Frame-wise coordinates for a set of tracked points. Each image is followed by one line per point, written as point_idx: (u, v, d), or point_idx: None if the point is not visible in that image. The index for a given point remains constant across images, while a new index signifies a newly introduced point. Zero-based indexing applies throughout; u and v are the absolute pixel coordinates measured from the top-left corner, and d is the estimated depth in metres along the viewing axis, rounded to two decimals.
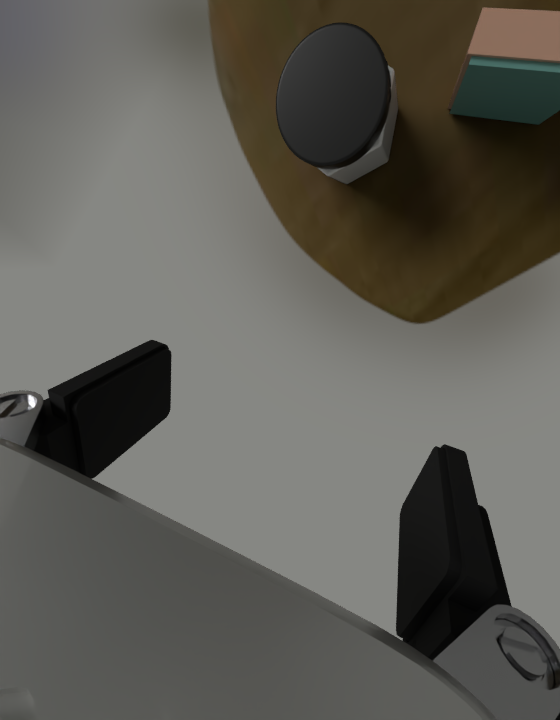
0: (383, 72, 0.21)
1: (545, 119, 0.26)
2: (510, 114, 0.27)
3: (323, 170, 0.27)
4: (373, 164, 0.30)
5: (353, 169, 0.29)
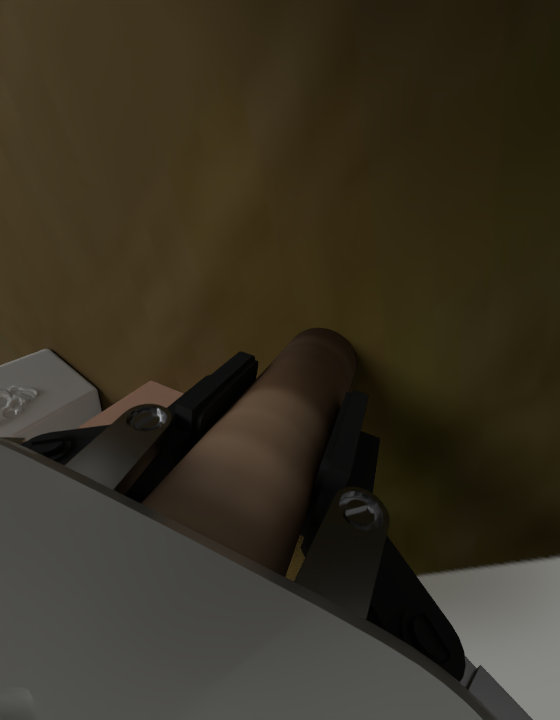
0: None
1: None
2: None
3: None
4: None
5: None
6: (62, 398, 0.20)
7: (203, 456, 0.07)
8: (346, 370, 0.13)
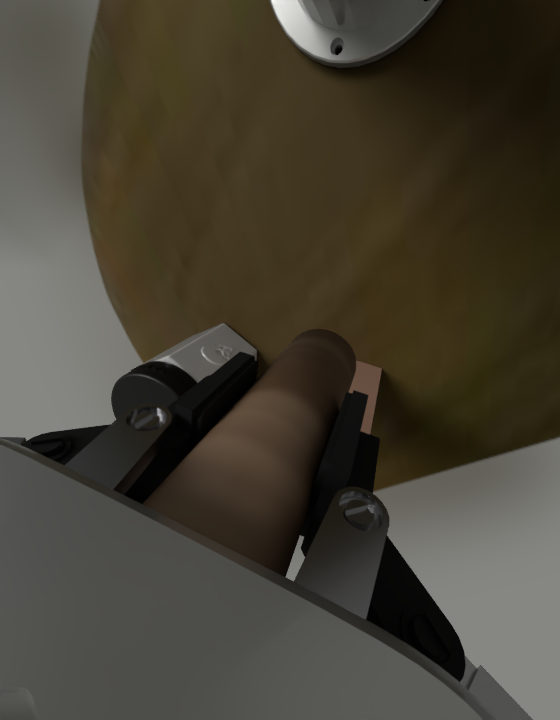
0: None
1: None
2: None
3: None
4: None
5: None
6: None
7: (203, 458, 0.07)
8: (345, 371, 0.13)
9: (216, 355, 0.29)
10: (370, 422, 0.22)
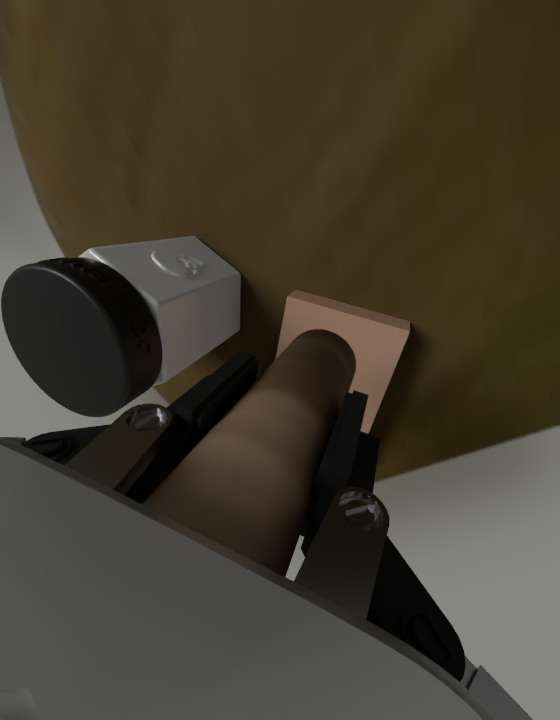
0: (112, 337, 0.14)
1: None
2: None
3: None
4: None
5: None
6: (220, 272, 0.22)
7: (202, 458, 0.07)
8: (345, 371, 0.13)
9: (176, 264, 0.19)
10: None
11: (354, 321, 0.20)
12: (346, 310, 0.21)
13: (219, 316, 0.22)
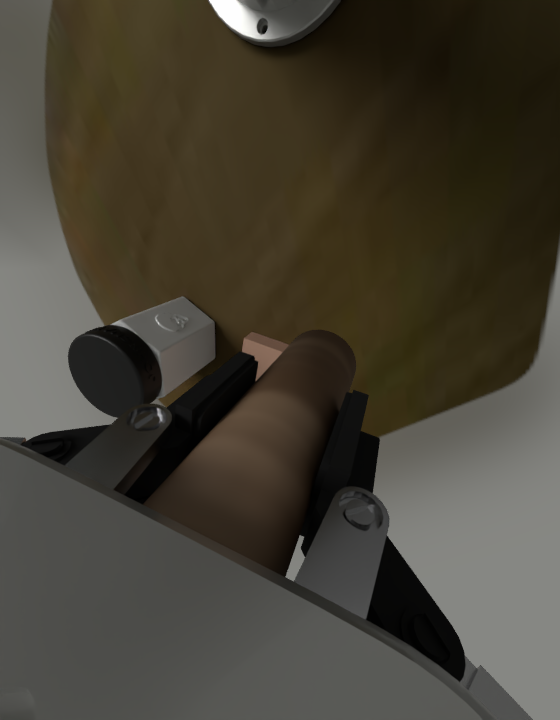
0: (134, 374, 0.26)
1: None
2: None
3: None
4: None
5: None
6: (200, 323, 0.34)
7: (202, 459, 0.07)
8: (345, 372, 0.13)
9: (170, 322, 0.31)
10: None
11: None
12: (281, 349, 0.32)
13: (199, 352, 0.34)
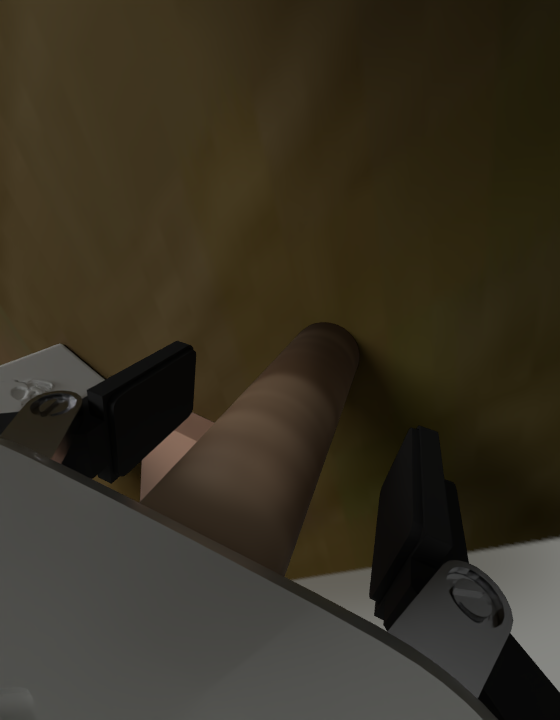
0: None
1: None
2: None
3: None
4: None
5: None
6: (76, 391, 0.21)
7: (225, 429, 0.08)
8: (349, 360, 0.14)
9: (7, 399, 0.18)
10: None
11: None
12: None
13: None
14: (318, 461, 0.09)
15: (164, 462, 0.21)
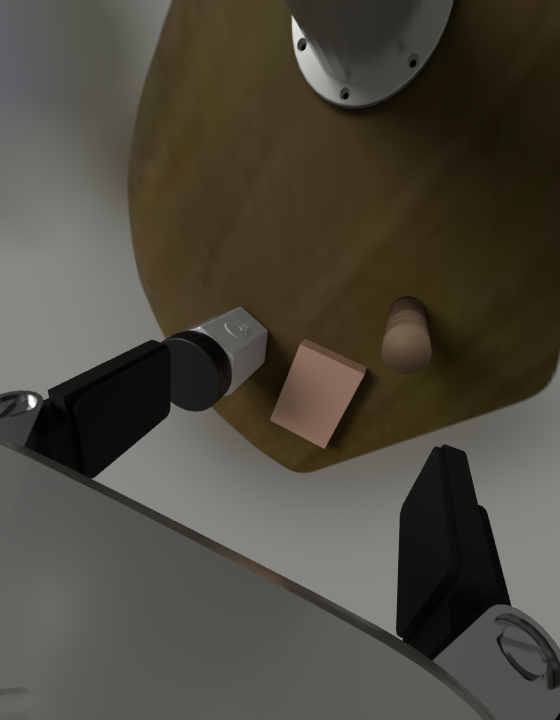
0: (215, 373, 0.30)
1: None
2: None
3: None
4: None
5: None
6: (257, 331, 0.38)
7: (403, 319, 0.25)
8: (424, 311, 0.31)
9: (236, 330, 0.35)
10: (332, 432, 0.40)
11: (335, 364, 0.36)
12: (332, 357, 0.37)
13: (255, 356, 0.38)
14: None
15: (304, 373, 0.38)
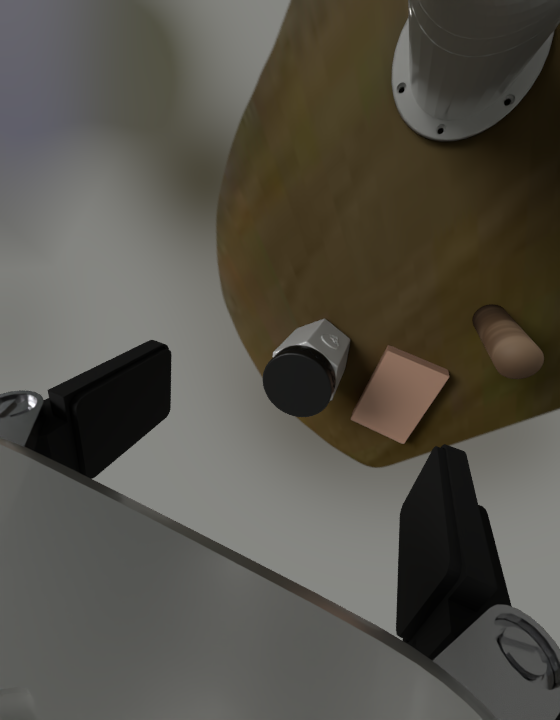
0: (327, 383, 0.34)
1: None
2: None
3: None
4: None
5: None
6: (344, 341, 0.42)
7: (508, 330, 0.29)
8: None
9: (331, 341, 0.39)
10: (412, 429, 0.44)
11: (421, 368, 0.40)
12: (417, 361, 0.40)
13: (343, 364, 0.42)
14: None
15: (389, 376, 0.42)
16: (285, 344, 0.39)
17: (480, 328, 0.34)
